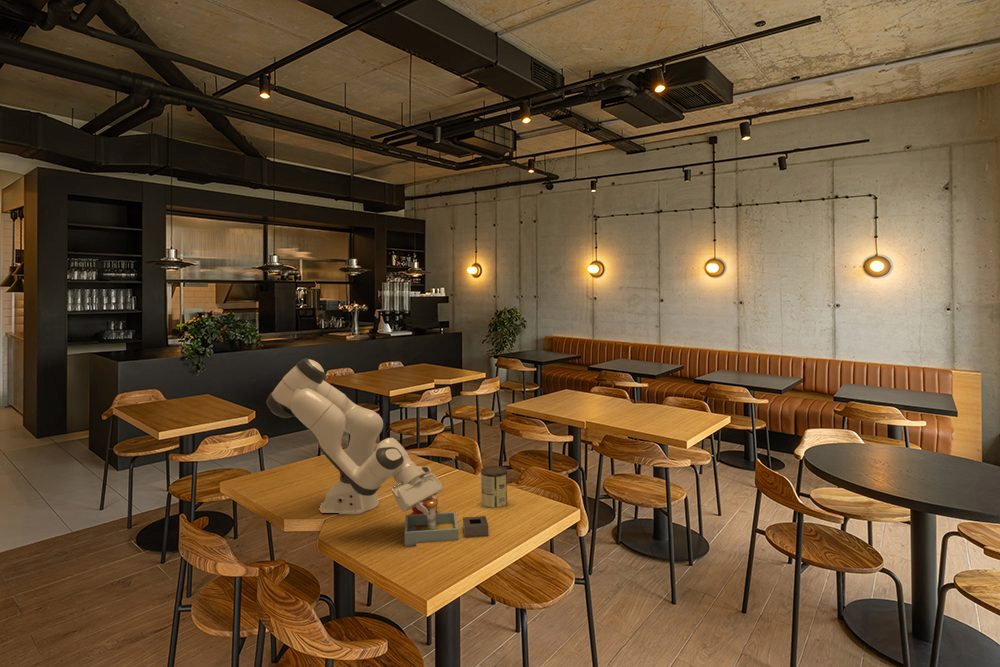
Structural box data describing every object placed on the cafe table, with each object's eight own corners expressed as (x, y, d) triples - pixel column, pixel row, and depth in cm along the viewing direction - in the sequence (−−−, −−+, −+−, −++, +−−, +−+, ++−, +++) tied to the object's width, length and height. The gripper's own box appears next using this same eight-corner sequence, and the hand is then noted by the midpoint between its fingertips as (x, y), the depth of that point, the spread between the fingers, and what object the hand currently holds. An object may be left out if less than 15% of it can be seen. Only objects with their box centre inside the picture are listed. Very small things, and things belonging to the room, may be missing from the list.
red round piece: (437, 520, 196) (437, 495, 196) (410, 520, 196) (409, 495, 195) (438, 508, 206) (438, 485, 205) (412, 509, 205) (412, 485, 205)
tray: (404, 546, 175) (404, 532, 175) (405, 527, 189) (405, 515, 189) (458, 542, 177) (458, 529, 177) (455, 524, 192) (455, 512, 192)
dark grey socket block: (464, 540, 179) (464, 527, 179) (462, 530, 187) (462, 517, 187) (488, 538, 180) (488, 525, 180) (485, 528, 188) (485, 516, 188)
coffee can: (488, 498, 217) (487, 464, 216) (511, 502, 212) (511, 467, 211) (476, 507, 207) (476, 471, 206) (500, 511, 203) (500, 475, 202)
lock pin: (424, 536, 181) (424, 503, 180) (424, 530, 185) (424, 499, 184) (437, 535, 181) (437, 503, 181) (437, 530, 186) (437, 498, 185)
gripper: (394, 482, 176) (418, 517, 172) (432, 465, 194) (454, 496, 190) (384, 493, 179) (407, 527, 175) (422, 475, 197) (444, 506, 192)
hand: (432, 511), depth 182 cm, fingers open, 3 cm apart
